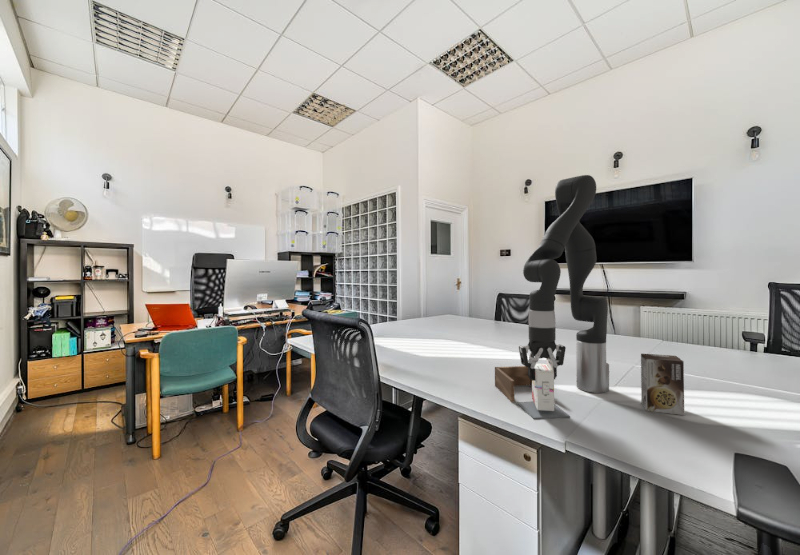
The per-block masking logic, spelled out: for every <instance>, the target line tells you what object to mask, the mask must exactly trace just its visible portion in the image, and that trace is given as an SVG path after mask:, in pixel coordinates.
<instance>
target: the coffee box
mask: <svg viewBox="0 0 800 555" xmlns="http://www.w3.org/2000/svg"><path fill="white" fill-rule="evenodd" d="M684 365H685V364H684V360H682V359H681V358H680V357H678V356H676V355H670V354H669V355H668V354H652V353H640V373H641V374H640V378H641V380H640V383H641V385H640V388H641V394H640V395H641V397H640V398H641V404H642V406H643V407H644V409H645V410H646V411H648V412H653V411H654V412H653V413H655V412H656V413H662V414H670V415H671V414H672V415H678V416H685V384H684V383H685V376H684V375H685V374H684V372H685V370H684Z"/></svg>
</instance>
